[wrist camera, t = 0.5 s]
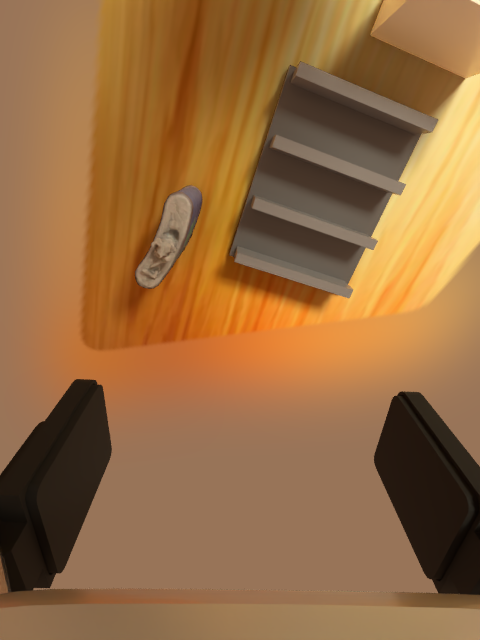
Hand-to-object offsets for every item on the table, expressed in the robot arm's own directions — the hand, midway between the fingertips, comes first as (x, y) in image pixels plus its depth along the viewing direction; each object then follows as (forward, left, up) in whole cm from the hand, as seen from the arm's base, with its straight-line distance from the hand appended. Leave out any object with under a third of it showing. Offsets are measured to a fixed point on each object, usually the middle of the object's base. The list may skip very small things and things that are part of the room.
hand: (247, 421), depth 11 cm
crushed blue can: (+1, -6, -29) cm, 30 cm away
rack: (-7, +7, -29) cm, 31 cm away
